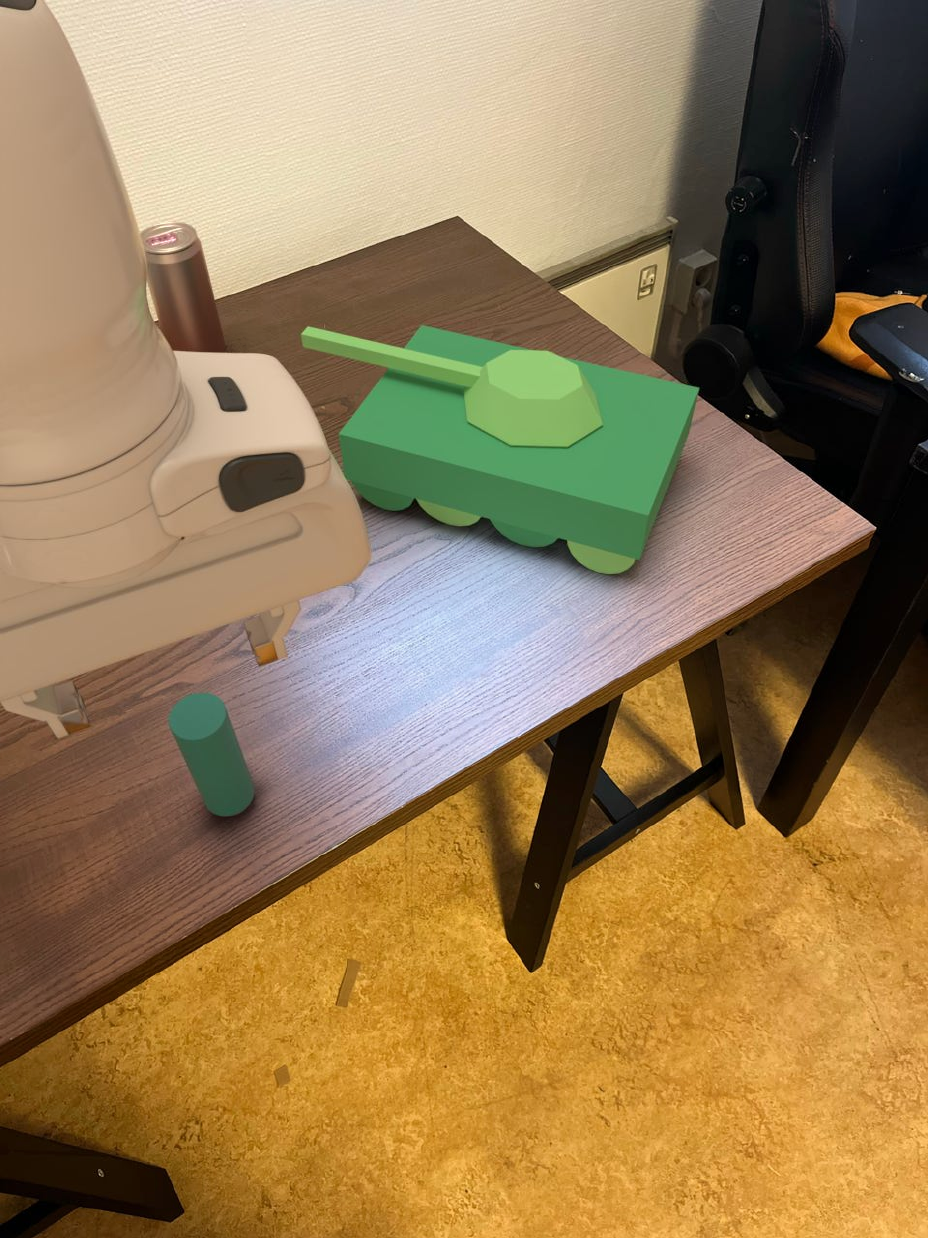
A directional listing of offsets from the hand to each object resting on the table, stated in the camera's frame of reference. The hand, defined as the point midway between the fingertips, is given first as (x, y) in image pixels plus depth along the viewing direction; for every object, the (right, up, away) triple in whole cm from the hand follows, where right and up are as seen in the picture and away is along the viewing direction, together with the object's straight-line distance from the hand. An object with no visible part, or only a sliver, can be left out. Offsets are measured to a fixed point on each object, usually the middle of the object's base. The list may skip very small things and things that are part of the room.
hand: (173, 686), depth 45 cm
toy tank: (+15, +17, +46) cm, 51 cm away
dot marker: (-3, -10, +23) cm, 25 cm away
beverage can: (-14, +30, +57) cm, 66 cm away
